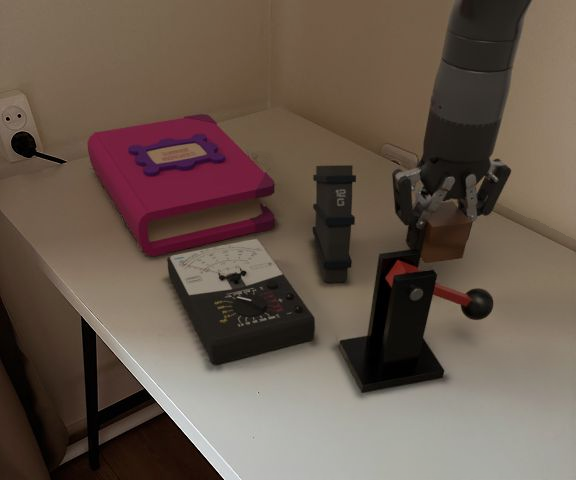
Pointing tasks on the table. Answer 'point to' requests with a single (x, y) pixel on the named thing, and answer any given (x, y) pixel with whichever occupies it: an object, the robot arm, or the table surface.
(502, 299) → the table surface
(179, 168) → the book
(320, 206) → the magazine
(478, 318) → the lever
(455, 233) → the block
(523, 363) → the table surface
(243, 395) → the table surface
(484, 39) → the robot arm
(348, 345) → the bracket
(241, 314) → the multimeter
